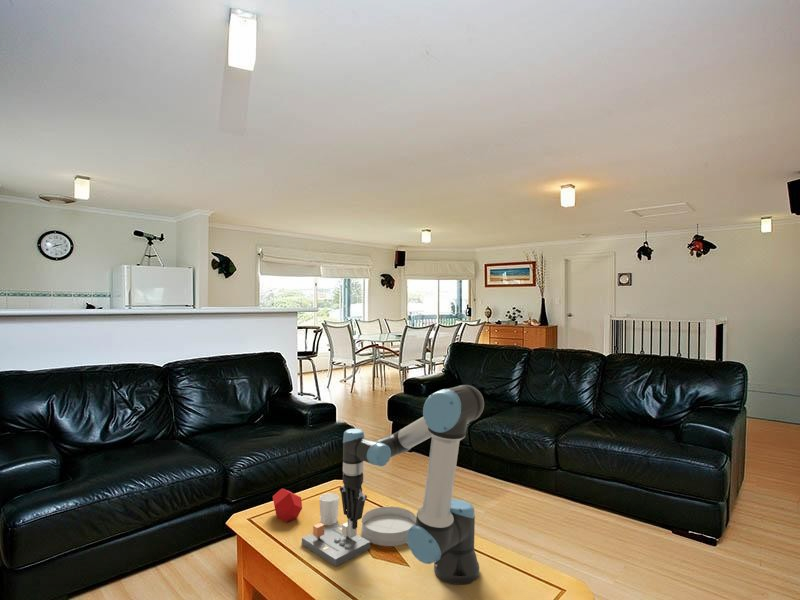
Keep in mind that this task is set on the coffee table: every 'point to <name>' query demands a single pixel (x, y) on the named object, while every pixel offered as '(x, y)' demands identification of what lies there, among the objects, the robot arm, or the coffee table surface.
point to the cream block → (345, 529)
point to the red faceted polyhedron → (287, 505)
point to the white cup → (329, 508)
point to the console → (335, 545)
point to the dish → (387, 525)
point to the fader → (318, 530)
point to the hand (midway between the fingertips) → (352, 536)
